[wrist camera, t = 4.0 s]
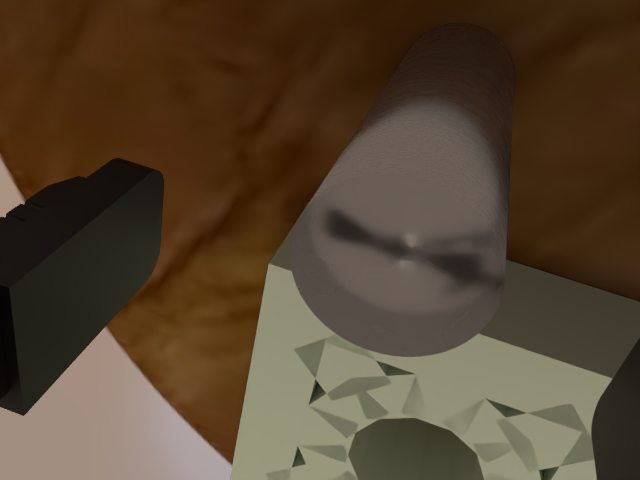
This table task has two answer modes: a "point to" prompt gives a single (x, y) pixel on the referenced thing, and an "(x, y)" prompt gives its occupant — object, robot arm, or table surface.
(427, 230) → the cylinder
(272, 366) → the pale green flat block
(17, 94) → the table surface
